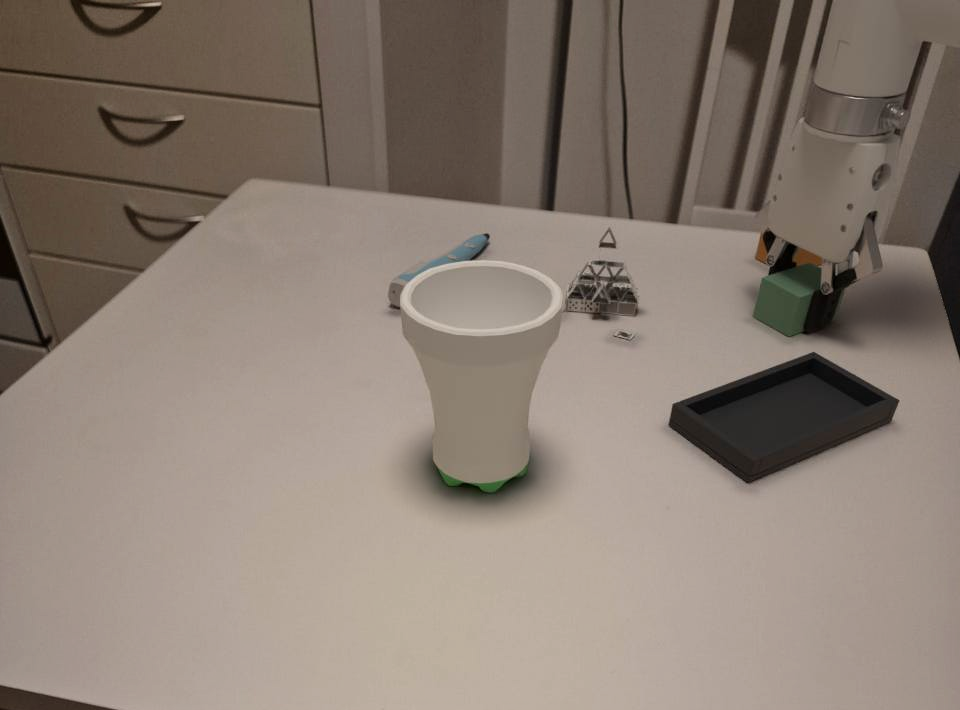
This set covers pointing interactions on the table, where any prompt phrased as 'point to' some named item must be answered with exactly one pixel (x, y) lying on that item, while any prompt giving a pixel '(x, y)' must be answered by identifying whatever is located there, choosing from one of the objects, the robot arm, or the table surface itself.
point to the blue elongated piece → (437, 264)
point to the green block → (789, 298)
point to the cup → (481, 361)
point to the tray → (781, 415)
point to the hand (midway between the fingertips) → (794, 314)
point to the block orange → (799, 258)
